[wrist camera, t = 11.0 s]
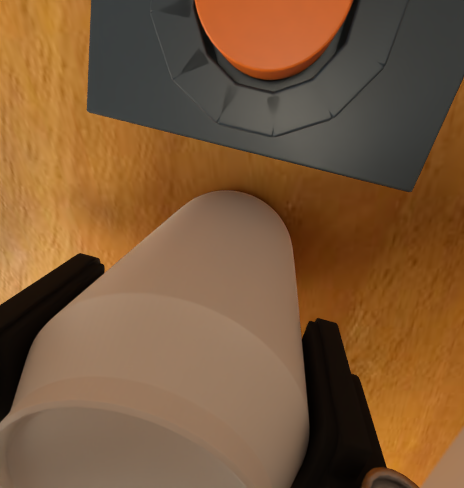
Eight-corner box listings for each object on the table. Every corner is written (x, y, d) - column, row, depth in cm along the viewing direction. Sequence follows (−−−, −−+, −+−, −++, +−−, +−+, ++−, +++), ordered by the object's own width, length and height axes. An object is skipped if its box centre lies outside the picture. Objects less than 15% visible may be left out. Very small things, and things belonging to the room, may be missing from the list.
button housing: (478, -50, 11) (622, -175, 6) (384, 177, 14) (435, 206, 9) (145, -120, 11) (54, -282, 7) (125, 113, 15) (53, 110, 10)
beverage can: (315, 217, 15) (410, 487, 4) (261, 316, 17) (226, 659, 6) (194, 164, 15) (-53, 289, 4) (157, 271, 17) (-62, 537, 6)
